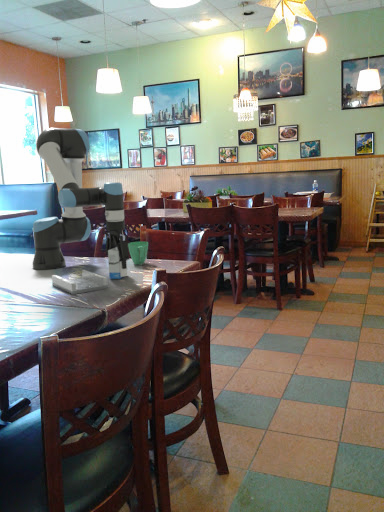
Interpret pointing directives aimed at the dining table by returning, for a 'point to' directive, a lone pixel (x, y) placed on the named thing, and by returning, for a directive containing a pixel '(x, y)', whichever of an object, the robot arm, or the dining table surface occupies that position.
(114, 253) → the ink box
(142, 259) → the mug
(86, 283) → the whitish low flat box
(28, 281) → the dining table surface
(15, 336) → the dining table surface
